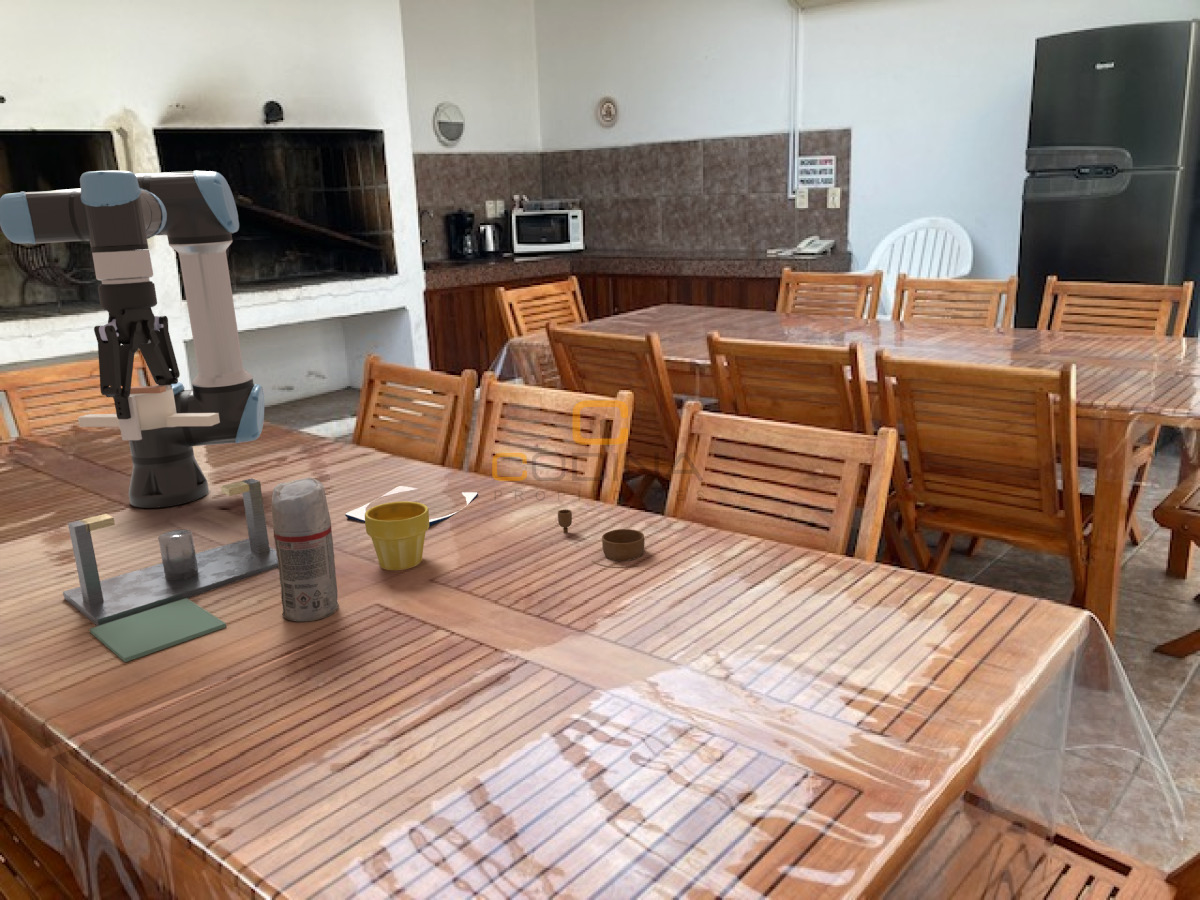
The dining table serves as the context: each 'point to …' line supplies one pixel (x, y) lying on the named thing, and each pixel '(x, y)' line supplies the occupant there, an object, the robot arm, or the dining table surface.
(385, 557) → the plant pot
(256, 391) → the robot arm
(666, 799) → the dining table surface
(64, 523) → the dining table surface
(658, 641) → the dining table surface
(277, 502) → the spray can
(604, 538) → the place setting
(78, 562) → the grey frame
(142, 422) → the cream crossbar with hub
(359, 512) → the plate
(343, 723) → the dining table surface
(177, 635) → the mat
